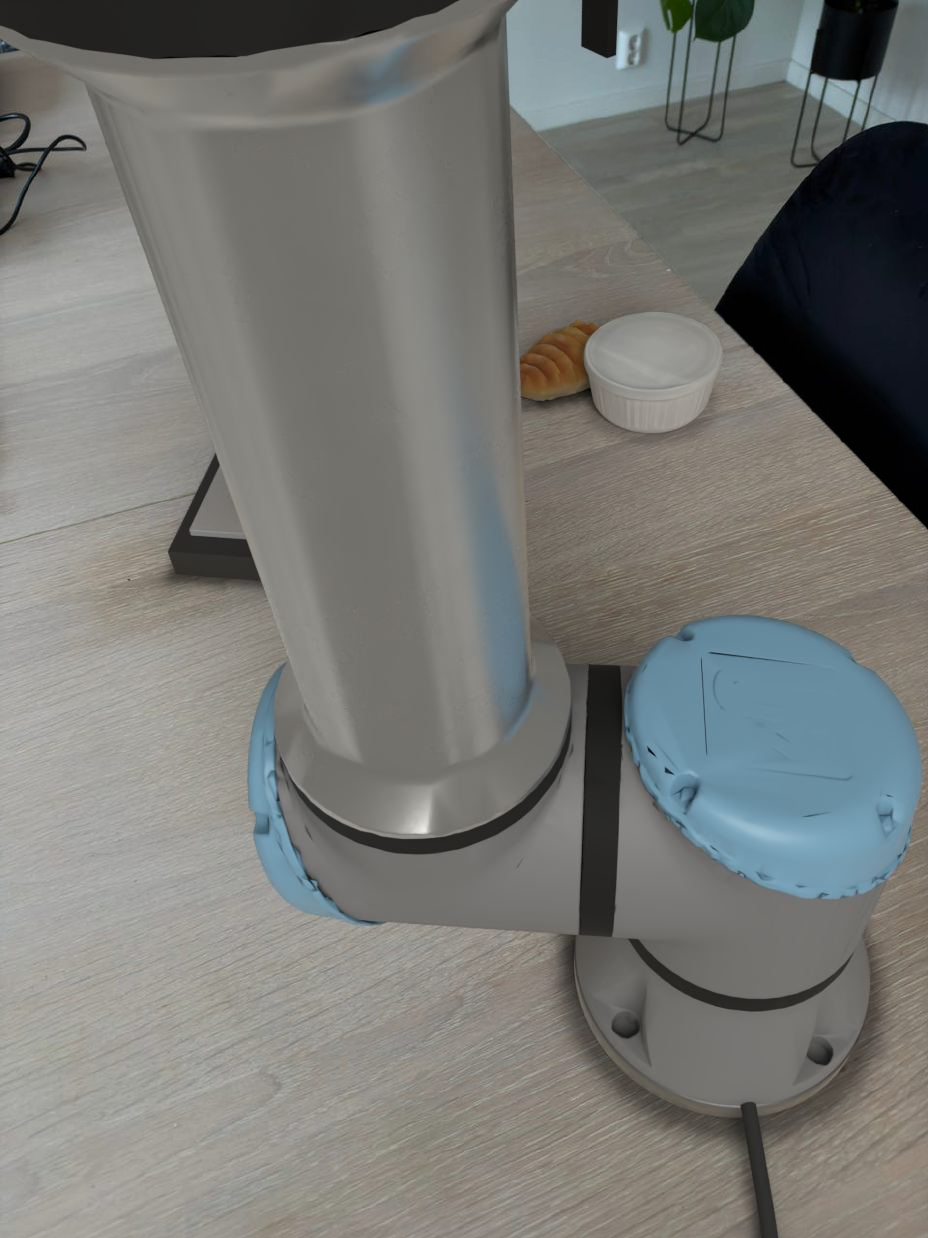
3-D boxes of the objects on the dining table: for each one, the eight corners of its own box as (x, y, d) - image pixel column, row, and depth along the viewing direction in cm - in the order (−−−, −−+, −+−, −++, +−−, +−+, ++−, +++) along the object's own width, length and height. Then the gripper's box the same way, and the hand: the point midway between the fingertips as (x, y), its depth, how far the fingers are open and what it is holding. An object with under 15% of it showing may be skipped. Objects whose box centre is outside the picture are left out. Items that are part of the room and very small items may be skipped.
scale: (383, 590, 80) (378, 561, 77) (175, 574, 82) (165, 545, 80) (423, 450, 90) (420, 421, 88) (238, 439, 93) (230, 411, 90)
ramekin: (578, 440, 90) (579, 387, 86) (587, 361, 97) (588, 308, 93) (717, 446, 88) (724, 392, 84) (715, 365, 95) (722, 312, 92)
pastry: (541, 418, 92) (540, 381, 89) (491, 382, 95) (489, 346, 93) (623, 374, 95) (625, 336, 92) (572, 341, 99) (572, 304, 96)
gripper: (649, -409, 60) (629, 12, 75) (237, -339, 51) (311, 118, 67) (746, -402, 55) (703, 43, 71) (313, -325, 47) (374, 161, 63)
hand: (513, 80), depth 69 cm, fingers open, 13 cm apart
